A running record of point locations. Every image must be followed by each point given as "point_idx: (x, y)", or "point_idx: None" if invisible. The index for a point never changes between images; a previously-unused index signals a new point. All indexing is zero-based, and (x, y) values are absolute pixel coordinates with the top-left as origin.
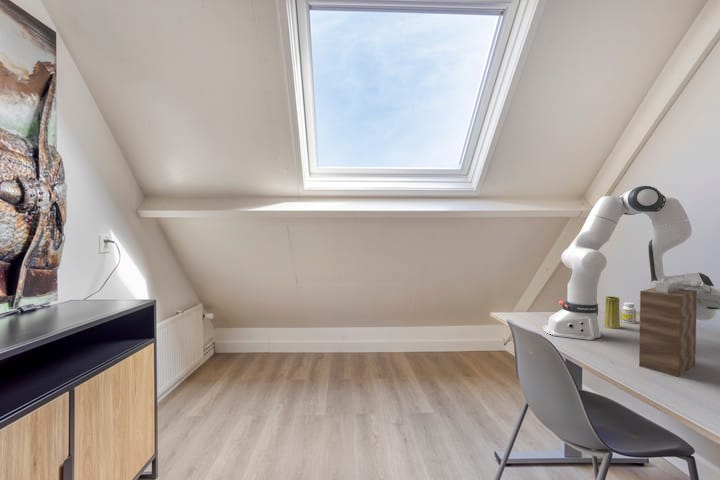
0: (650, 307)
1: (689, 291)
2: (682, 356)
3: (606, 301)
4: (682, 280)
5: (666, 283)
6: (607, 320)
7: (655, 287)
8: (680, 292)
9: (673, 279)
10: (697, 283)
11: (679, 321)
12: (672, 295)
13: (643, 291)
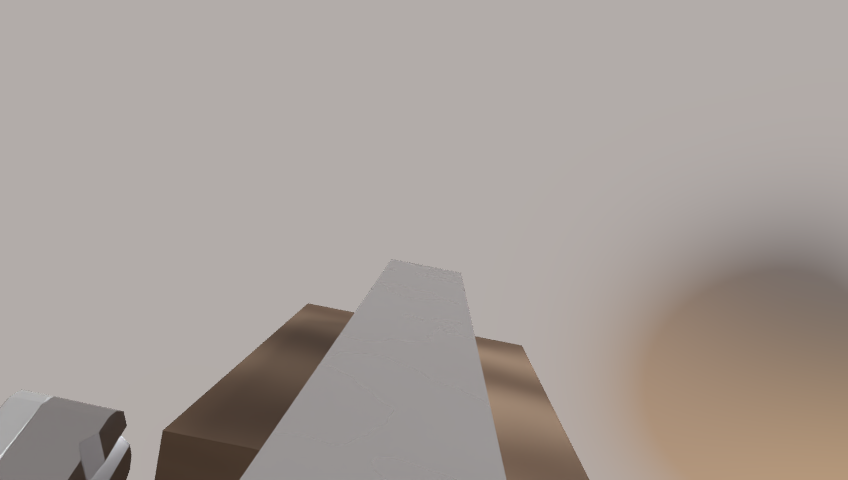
0: None
1: (249, 388)
2: None
3: None
4: (351, 338)
5: (412, 271)
6: None
7: (577, 460)
8: (317, 355)
9: (470, 368)
10: (119, 424)
11: None
12: (344, 312)
13: (505, 343)
